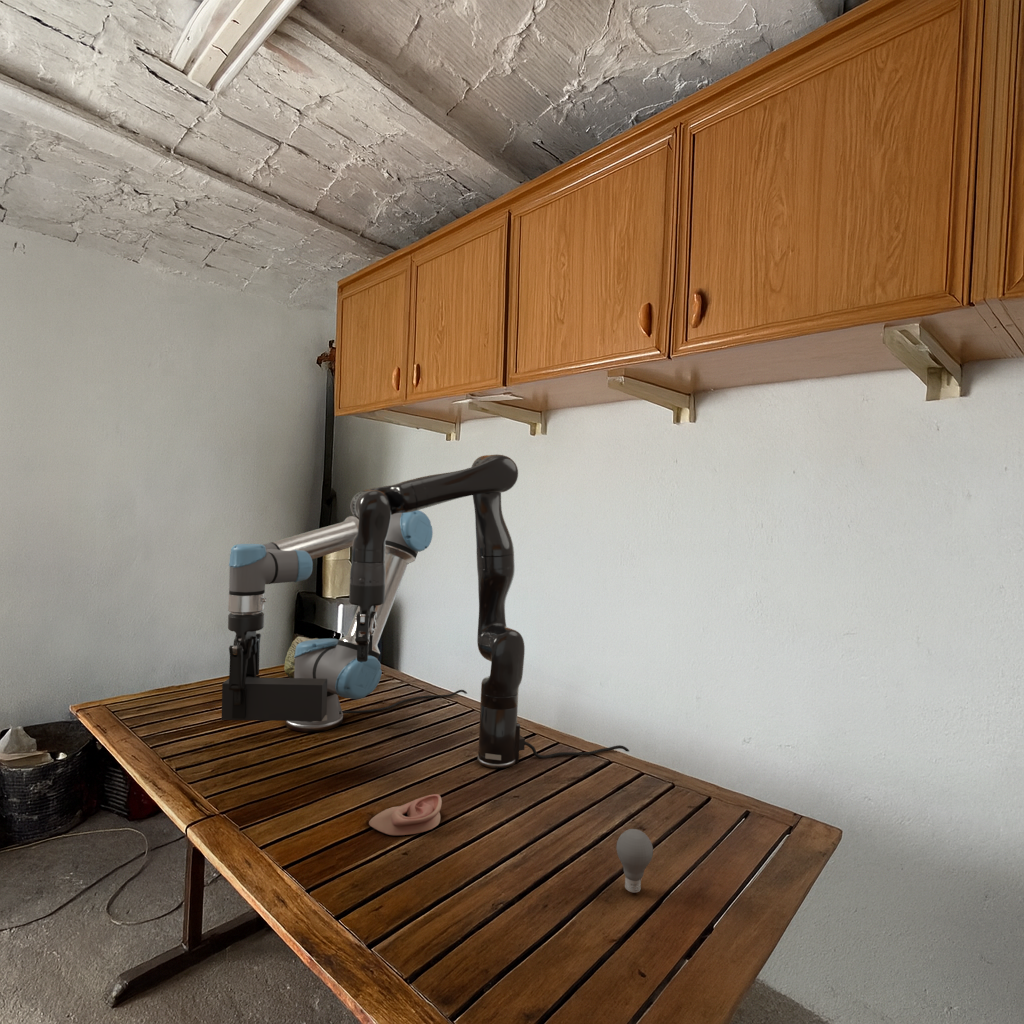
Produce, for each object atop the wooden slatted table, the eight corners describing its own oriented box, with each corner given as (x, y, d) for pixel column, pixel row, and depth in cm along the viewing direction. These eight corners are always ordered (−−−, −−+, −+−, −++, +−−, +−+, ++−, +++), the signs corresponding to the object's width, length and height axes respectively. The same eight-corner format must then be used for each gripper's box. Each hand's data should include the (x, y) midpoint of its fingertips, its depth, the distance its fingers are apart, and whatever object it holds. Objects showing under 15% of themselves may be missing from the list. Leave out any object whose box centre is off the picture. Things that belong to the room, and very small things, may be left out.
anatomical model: (362, 810, 120) (386, 784, 132) (361, 831, 121) (385, 803, 132) (429, 820, 118) (447, 793, 129) (428, 841, 118) (446, 812, 129)
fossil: (280, 681, 212) (281, 637, 212) (331, 673, 224) (333, 631, 224) (290, 688, 205) (292, 642, 205) (343, 679, 218) (345, 636, 217)
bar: (221, 720, 142) (222, 683, 142) (229, 712, 147) (230, 676, 147) (321, 721, 143) (322, 685, 143) (326, 713, 148) (327, 678, 148)
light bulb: (610, 879, 108) (613, 822, 108) (644, 879, 109) (647, 822, 109) (619, 902, 102) (622, 840, 102) (655, 901, 103) (658, 840, 103)
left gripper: (249, 620, 135) (246, 728, 136) (275, 605, 153) (272, 700, 154) (213, 619, 135) (210, 727, 135) (243, 604, 153) (241, 700, 153)
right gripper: (382, 587, 131) (379, 665, 131) (388, 578, 145) (385, 648, 145) (345, 586, 130) (341, 664, 130) (354, 577, 144) (351, 648, 144)
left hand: (243, 713), depth 145 cm, fingers closed on bar, 5 cm apart
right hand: (364, 656), depth 138 cm, fingers open, 8 cm apart
